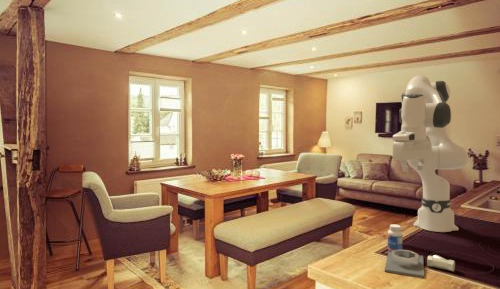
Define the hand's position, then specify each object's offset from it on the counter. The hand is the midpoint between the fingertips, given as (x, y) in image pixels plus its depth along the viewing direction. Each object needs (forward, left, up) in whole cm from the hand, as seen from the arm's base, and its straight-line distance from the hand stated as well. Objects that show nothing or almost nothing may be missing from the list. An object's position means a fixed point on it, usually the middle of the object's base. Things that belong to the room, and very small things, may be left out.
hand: (413, 171), depth 135 cm
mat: (+16, -2, -32) cm, 36 cm away
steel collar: (+16, -2, -32) cm, 36 cm away
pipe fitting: (+13, +9, -32) cm, 36 cm away
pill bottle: (+2, -6, -32) cm, 32 cm away
